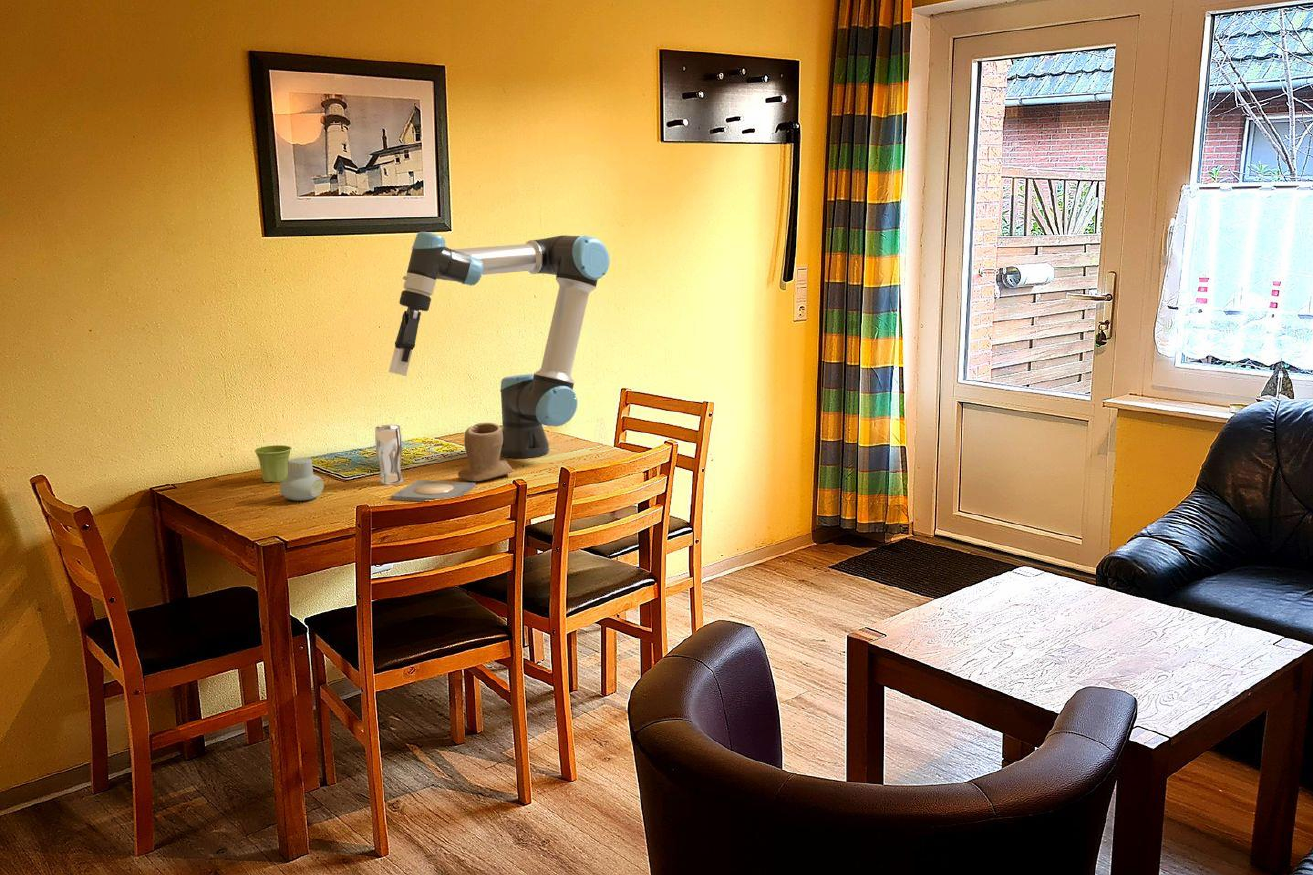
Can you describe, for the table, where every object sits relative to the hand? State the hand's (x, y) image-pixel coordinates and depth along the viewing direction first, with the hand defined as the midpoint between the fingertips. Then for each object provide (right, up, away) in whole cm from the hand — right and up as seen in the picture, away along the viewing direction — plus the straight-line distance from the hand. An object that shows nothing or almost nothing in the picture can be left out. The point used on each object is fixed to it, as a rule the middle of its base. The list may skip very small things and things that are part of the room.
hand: (397, 374), depth 287 cm
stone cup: (+21, -27, +17) cm, 38 cm away
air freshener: (-24, -32, -1) cm, 40 cm away
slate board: (+9, -30, +2) cm, 32 cm away
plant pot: (-37, -28, +17) cm, 49 cm away
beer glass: (-5, -28, +14) cm, 32 cm away
